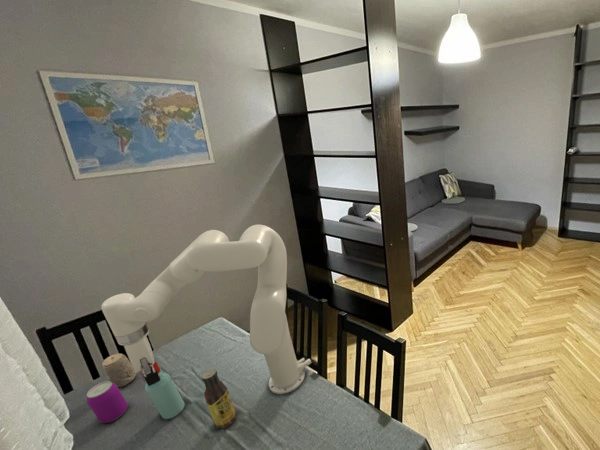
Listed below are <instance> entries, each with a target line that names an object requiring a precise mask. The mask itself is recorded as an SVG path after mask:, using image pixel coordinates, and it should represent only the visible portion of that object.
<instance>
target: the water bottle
mask: <svg viewBox="0 0 600 450" xmlns="http://www.w3.org/2000/svg"><path fill="white" fill-rule="evenodd" d="M158 375H159V377H160V381H158V382H156V383H154V384H152V385H150V386H148V384H147V382H146V381H145V385H144V390H145V392H146V393H147V395H148V396H149V398H150V400H151V401H152V403H153V404H154V406H155V408H156V410H157V411H158V413H159V415H160V416H161V418H162V419H163V420H170V419H173V418H175V417H176V416H178V415H179V414H180V413H181V412H182V411H183V410H184V408H185V402H184V400H183V398H182V396H181V394H180V392H179V390H178V389H177V387H176V385H175V383H174V381H173V380H172V377H171V375H170V374H169V373H167V372H164V371H163V372H162V371H160V372H159V374H158Z"/></svg>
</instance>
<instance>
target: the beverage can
mask: <svg viewBox="0 0 600 450" xmlns="http://www.w3.org/2000/svg"><path fill="white" fill-rule="evenodd" d="M86 403H87V405H88V406H89V408H90V409H91V410H92V412H93V414H94V416H95V417H96V418H97V420H98V422H100V423H101V424H108V423H112V422H115V421H116V420H118V419H120V418H121V417H122V416H123V415H124V414H125V412H126V411H127V410H128V407H129V404H128V402H127V400H126V399H125V397H124V396H123V394H122V392H121V390H120V387H117V385H116V384H114V383H112V382H110V381H109V380H105V381H101V382H100V383H98V384H95V385H93V386H92V387H91V388H90V389H89V390H88V391H87V393H86Z"/></svg>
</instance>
